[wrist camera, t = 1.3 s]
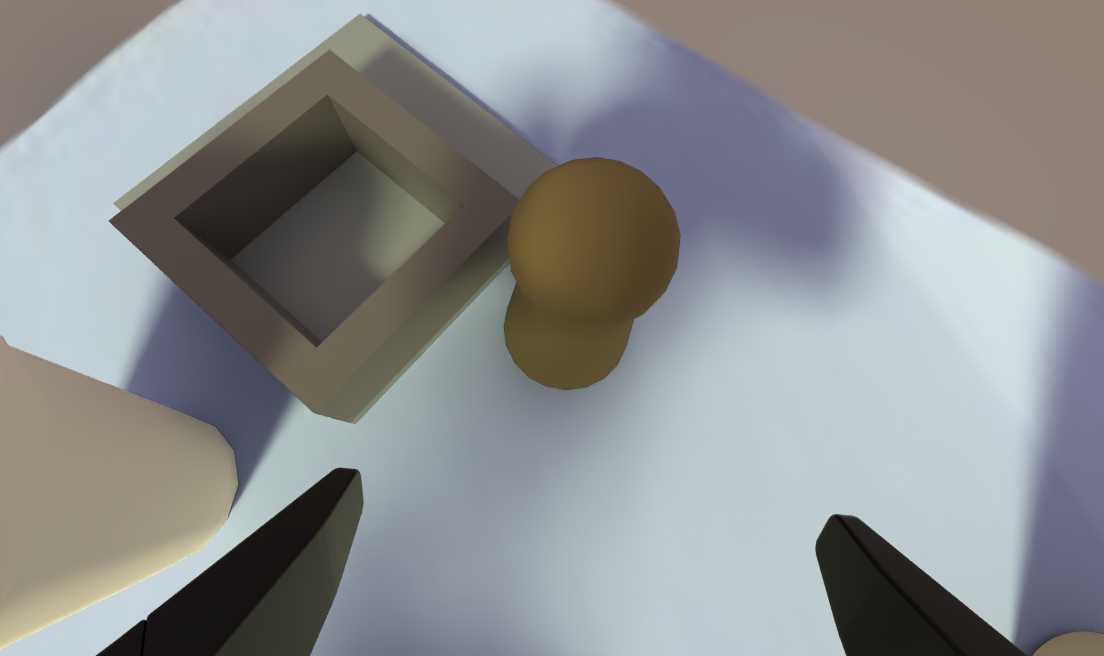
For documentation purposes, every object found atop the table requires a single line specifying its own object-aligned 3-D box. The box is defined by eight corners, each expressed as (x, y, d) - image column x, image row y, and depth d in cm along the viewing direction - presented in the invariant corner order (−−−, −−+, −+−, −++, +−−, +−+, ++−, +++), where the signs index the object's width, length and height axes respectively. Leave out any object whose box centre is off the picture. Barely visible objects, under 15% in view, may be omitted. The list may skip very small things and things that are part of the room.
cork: (552, 247, 25) (575, 86, 15) (651, 316, 24) (750, 199, 14) (478, 339, 24) (442, 234, 13) (581, 415, 23) (632, 370, 12)
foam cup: (-4, 481, 21) (-805, 500, 8) (195, 338, 23) (-200, 179, 10) (118, 669, 19) (-638, 1046, 7) (319, 497, 21) (32, 537, 9)
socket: (354, 424, 22) (313, 412, 18) (122, 209, 24) (34, 151, 20) (579, 189, 26) (591, 132, 22) (363, 23, 28) (334, -60, 24)
